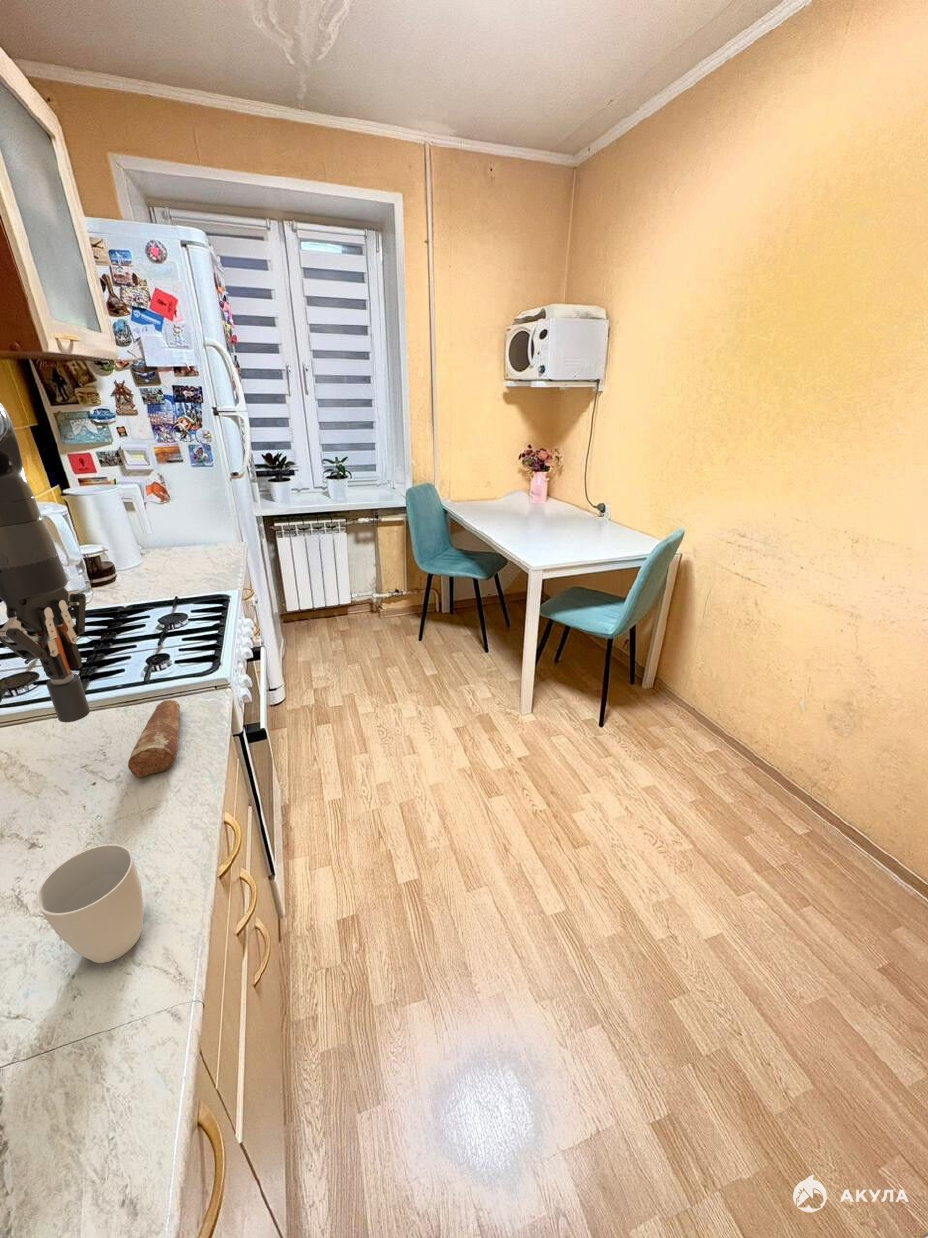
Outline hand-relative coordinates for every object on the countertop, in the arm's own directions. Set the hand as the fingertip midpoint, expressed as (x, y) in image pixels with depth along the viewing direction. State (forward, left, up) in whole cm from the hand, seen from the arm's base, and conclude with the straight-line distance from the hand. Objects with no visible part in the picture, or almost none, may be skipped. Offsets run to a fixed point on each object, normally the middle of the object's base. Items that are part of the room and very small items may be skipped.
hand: (66, 672), depth 71 cm
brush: (-1, 0, -7) cm, 7 cm away
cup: (+18, -26, -19) cm, 37 cm away
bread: (+4, +7, -19) cm, 21 cm away
